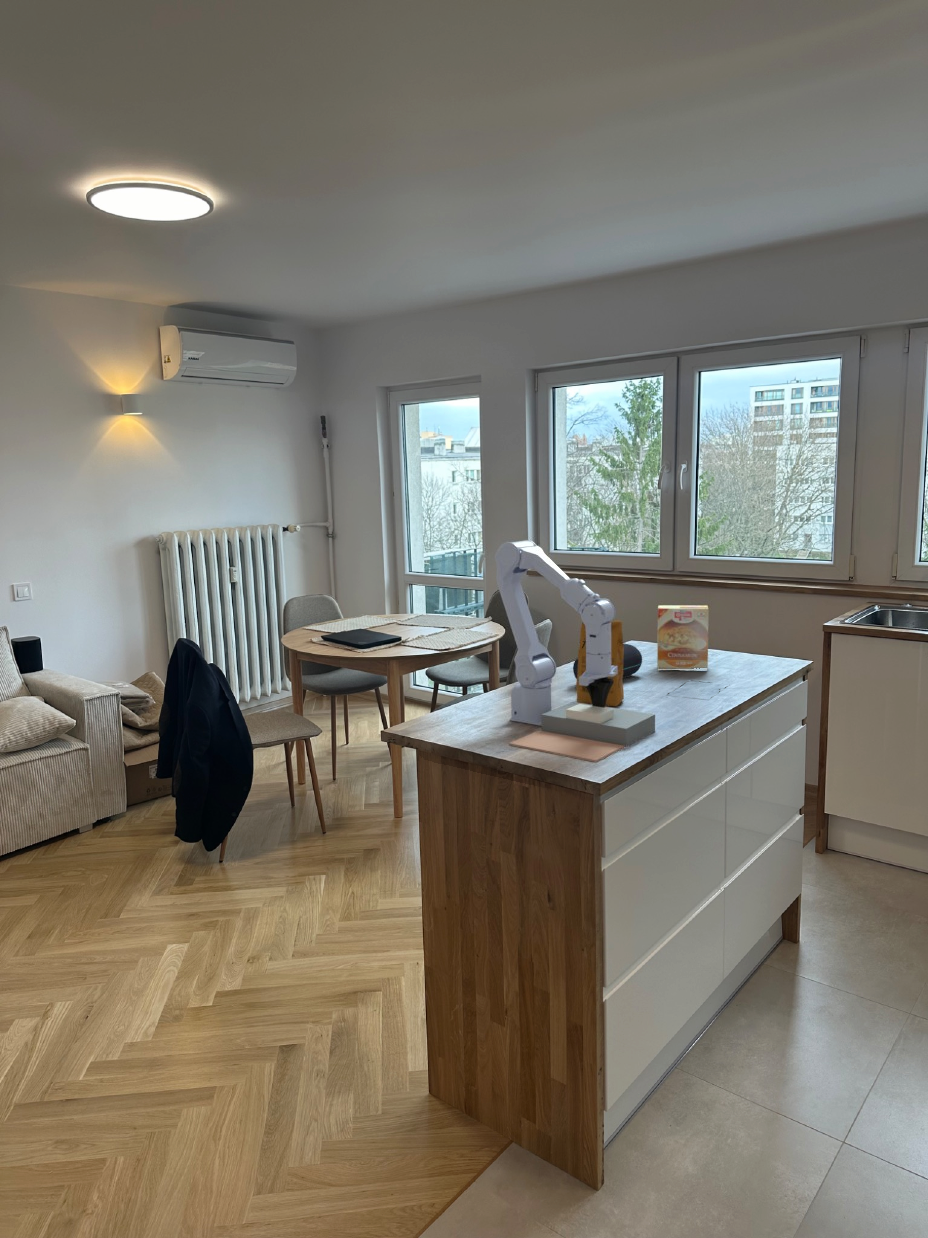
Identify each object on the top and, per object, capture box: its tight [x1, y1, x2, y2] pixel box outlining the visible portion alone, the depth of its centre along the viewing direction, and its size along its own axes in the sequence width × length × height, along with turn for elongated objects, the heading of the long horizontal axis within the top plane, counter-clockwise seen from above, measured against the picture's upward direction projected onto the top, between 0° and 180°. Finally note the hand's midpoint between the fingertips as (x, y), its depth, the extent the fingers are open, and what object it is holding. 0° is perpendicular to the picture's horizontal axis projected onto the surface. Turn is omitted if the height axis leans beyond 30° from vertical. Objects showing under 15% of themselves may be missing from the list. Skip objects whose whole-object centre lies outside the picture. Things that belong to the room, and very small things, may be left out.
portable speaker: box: [572, 643, 643, 680], centre depth 247 cm, size 25×10×10 cm, turn 135°
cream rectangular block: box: [566, 704, 614, 724], centre depth 193 cm, size 9×6×2 cm, turn 52°
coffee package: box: [575, 620, 625, 707], centre depth 222 cm, size 10×12×22 cm
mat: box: [508, 730, 625, 763], centre depth 186 cm, size 22×12×1 cm, turn 52°
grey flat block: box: [540, 701, 656, 747], centre depth 196 cm, size 22×14×4 cm, turn 52°
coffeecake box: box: [656, 604, 710, 670], centre depth 259 cm, size 15×7×20 cm, turn 77°
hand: (598, 710), depth 196 cm, fingers closed
